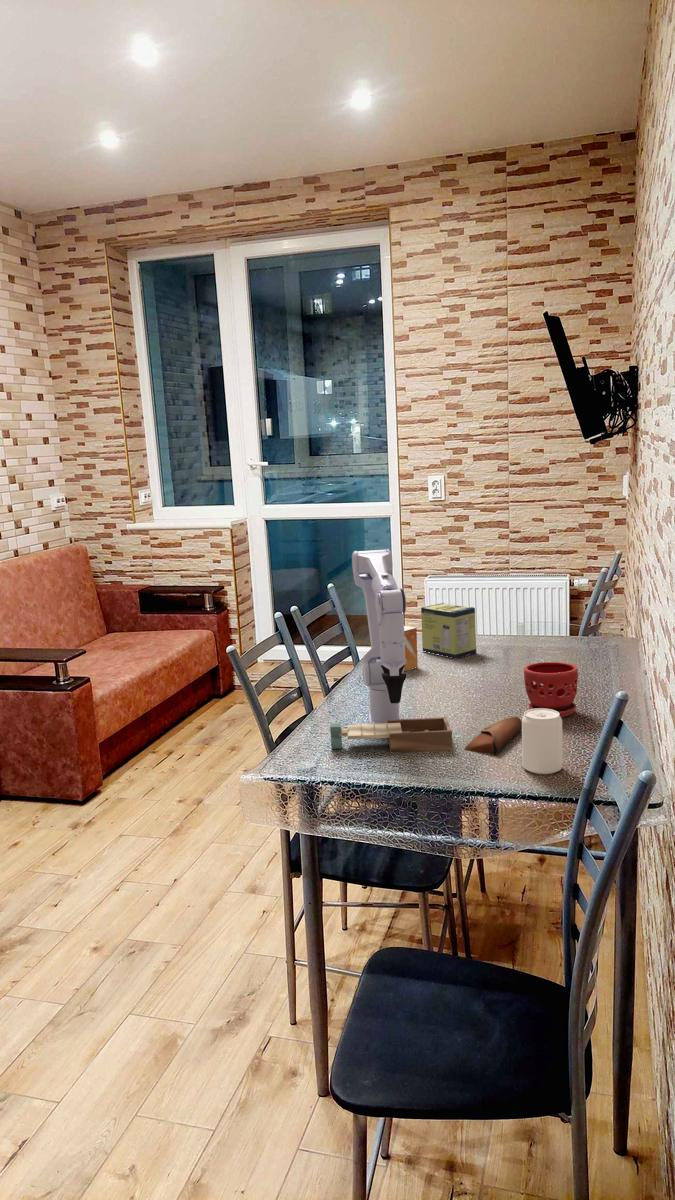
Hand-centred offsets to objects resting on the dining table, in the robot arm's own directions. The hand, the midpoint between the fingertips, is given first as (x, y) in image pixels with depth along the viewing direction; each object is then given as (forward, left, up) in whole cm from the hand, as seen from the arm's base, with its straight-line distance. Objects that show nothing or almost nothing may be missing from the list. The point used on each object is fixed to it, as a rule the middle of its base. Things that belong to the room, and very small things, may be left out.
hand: (394, 698), depth 187 cm
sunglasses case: (+3, +22, -11) cm, 25 cm away
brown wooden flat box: (+3, +5, -10) cm, 12 cm away
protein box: (-82, +23, -11) cm, 86 cm away
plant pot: (-15, +40, -11) cm, 44 cm away
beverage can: (+21, +29, -11) cm, 38 cm away
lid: (+3, -7, -10) cm, 13 cm away
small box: (-64, +6, -11) cm, 65 cm away
